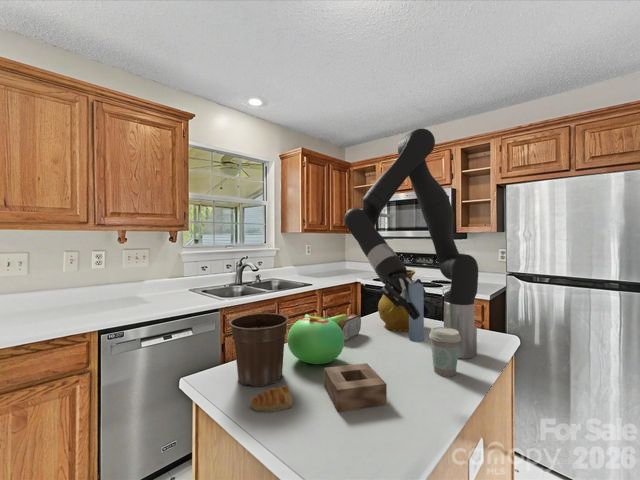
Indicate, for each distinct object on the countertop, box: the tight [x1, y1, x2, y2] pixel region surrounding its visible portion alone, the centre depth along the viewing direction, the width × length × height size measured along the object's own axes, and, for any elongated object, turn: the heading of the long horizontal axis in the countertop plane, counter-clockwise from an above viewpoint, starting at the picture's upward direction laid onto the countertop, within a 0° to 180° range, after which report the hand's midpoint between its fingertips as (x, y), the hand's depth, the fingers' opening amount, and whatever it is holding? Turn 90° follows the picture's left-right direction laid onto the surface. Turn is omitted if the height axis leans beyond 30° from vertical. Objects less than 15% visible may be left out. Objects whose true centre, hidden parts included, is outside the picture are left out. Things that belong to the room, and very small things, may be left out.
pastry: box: [250, 385, 293, 413], centre depth 74 cm, size 9×7×4 cm
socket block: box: [323, 362, 388, 413], centre depth 78 cm, size 12×12×5 cm
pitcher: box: [377, 269, 416, 333], centre depth 134 cm, size 17×19×25 cm
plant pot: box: [228, 312, 289, 387], centre depth 89 cm, size 16×16×16 cm
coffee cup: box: [428, 326, 461, 377], centre depth 91 cm, size 8×8×12 cm
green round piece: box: [286, 313, 348, 365], centre depth 100 cm, size 18×17×15 cm
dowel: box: [408, 283, 425, 343], centre depth 80 cm, size 4×4×14 cm
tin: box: [337, 313, 362, 342], centre depth 121 cm, size 15×3×8 cm, turn 144°
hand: (422, 316), depth 78 cm, fingers closed on dowel, 3 cm apart
